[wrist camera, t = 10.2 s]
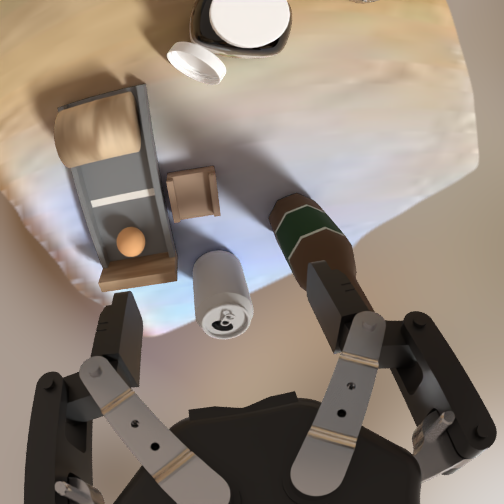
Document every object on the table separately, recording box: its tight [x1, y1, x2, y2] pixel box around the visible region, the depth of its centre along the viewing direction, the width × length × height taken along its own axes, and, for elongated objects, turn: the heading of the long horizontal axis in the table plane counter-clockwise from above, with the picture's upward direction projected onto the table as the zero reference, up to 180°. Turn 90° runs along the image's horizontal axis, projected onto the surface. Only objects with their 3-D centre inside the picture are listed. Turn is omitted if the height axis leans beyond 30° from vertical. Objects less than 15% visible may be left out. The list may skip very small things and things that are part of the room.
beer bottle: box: [269, 193, 374, 312], centre depth 35 cm, size 8×8×24 cm
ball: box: [117, 227, 145, 257], centre depth 39 cm, size 4×4×4 cm
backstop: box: [98, 249, 178, 292], centre depth 42 cm, size 2×11×6 cm, turn 94°
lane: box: [58, 84, 175, 269], centre depth 36 cm, size 23×11×2 cm, turn 4°
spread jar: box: [167, 0, 292, 85], centre depth 25 cm, size 12×11×12 cm
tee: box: [166, 166, 221, 223], centre depth 39 cm, size 6×6×3 cm
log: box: [54, 92, 141, 168], centre depth 29 cm, size 7×8×7 cm
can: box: [192, 250, 253, 339], centre depth 42 cm, size 8×8×12 cm
